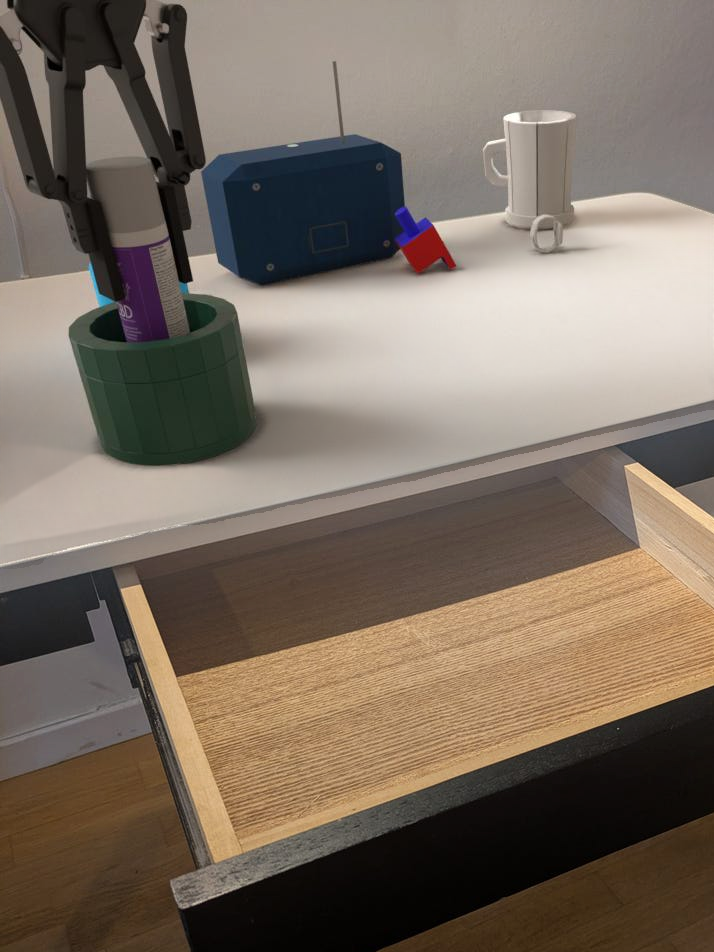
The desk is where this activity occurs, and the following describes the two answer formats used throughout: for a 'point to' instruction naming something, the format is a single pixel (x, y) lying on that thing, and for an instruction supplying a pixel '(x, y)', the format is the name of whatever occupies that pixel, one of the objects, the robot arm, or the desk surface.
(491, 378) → the desk surface
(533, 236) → the grey ring
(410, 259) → the toy building block
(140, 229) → the container
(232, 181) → the radio
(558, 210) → the cup
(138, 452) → the jar
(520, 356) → the desk surface
